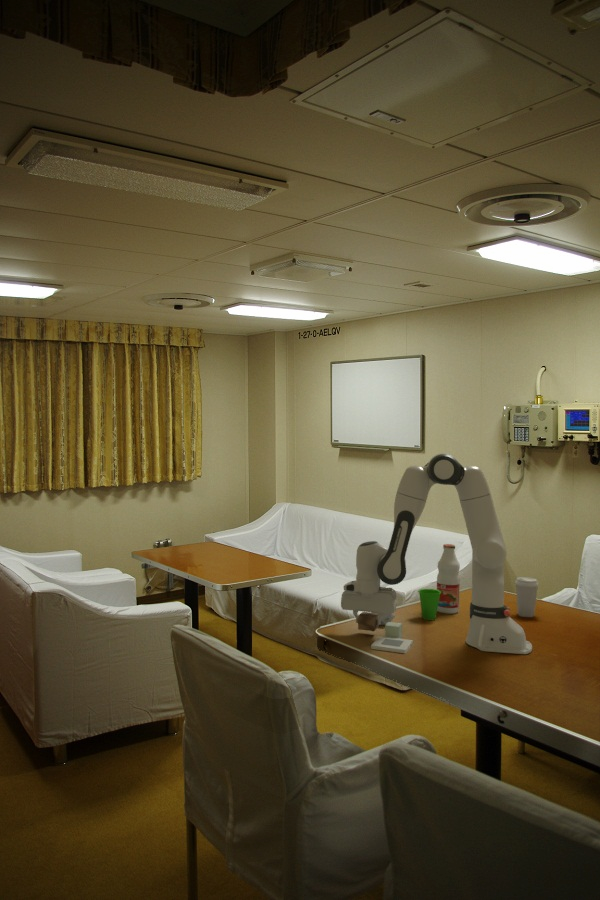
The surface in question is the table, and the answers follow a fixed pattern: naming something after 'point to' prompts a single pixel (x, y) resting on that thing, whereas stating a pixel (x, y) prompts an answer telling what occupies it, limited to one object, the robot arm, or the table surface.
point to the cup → (429, 602)
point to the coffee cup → (526, 596)
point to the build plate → (392, 644)
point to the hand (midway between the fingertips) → (368, 623)
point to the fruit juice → (448, 581)
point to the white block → (386, 618)
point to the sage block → (393, 630)
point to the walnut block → (367, 621)
